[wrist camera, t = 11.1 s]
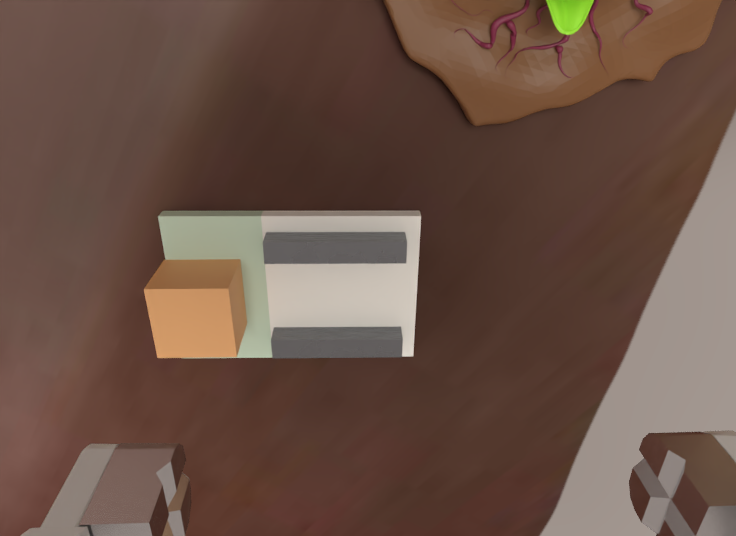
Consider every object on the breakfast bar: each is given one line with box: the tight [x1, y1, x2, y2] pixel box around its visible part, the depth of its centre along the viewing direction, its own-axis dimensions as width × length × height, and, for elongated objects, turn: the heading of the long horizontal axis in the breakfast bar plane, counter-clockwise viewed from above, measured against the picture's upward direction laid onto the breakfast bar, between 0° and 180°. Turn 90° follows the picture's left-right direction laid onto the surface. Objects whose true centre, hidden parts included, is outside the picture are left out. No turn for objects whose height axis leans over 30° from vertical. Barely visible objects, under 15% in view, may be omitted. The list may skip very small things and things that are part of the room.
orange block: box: [144, 259, 247, 358], centre depth 36 cm, size 5×5×4 cm
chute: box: [158, 211, 421, 358], centre depth 37 cm, size 17×11×3 cm, turn 89°
